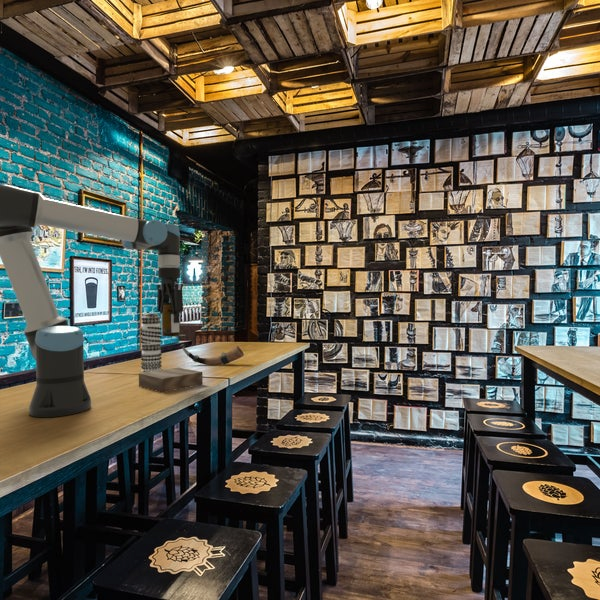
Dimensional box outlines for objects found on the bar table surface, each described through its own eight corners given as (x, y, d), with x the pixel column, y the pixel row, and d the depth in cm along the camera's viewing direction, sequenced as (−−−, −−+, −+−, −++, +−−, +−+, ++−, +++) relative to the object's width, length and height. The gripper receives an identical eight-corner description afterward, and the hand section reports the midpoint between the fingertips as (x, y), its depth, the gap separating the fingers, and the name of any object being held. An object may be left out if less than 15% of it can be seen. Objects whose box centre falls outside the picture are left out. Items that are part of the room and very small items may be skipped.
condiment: (176, 334, 154) (176, 302, 154) (186, 335, 148) (185, 302, 148) (157, 335, 150) (156, 302, 150) (166, 337, 143) (165, 302, 143)
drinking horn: (243, 365, 191) (243, 344, 191) (178, 366, 191) (178, 344, 191) (244, 363, 197) (244, 342, 197) (182, 364, 197) (181, 343, 197)
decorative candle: (166, 368, 186) (165, 312, 186) (156, 372, 177) (155, 313, 177) (147, 368, 187) (146, 313, 187) (136, 371, 178) (135, 313, 178)
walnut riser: (162, 393, 138) (162, 378, 138) (138, 387, 149) (138, 373, 149) (202, 385, 150) (202, 372, 150) (178, 380, 161) (178, 367, 161)
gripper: (193, 266, 145) (194, 332, 146) (164, 269, 158) (165, 330, 158) (174, 265, 140) (175, 333, 140) (146, 268, 153) (147, 331, 153)
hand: (170, 331), depth 149 cm, fingers closed on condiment, 6 cm apart
